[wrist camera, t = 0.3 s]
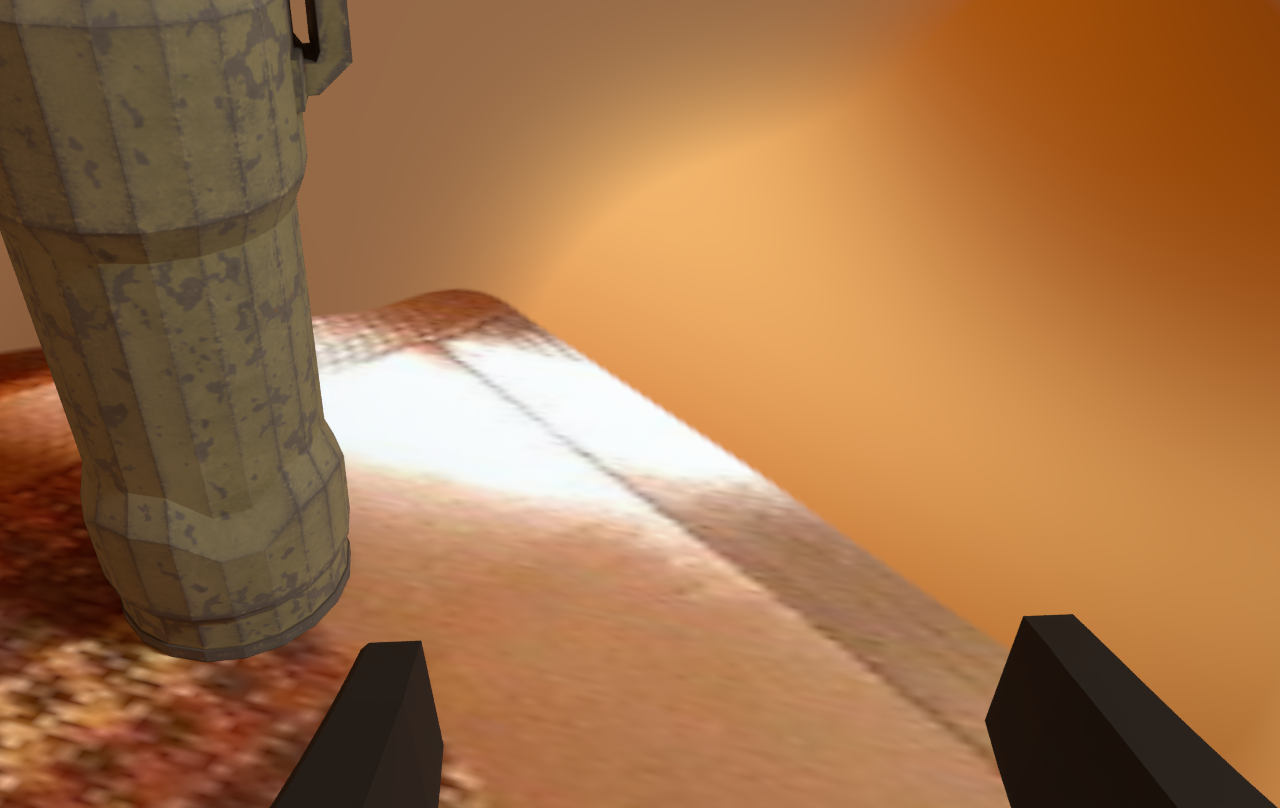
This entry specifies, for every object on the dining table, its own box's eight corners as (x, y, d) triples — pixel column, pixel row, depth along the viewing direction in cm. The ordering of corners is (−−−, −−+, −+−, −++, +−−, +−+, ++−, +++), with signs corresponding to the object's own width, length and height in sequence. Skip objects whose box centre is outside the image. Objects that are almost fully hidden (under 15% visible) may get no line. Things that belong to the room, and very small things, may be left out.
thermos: (419, 602, 36) (353, -738, 15) (90, 715, 31) (-758, -1145, 9) (356, 467, 42) (242, -643, 21) (68, 542, 37) (-494, -863, 15)
